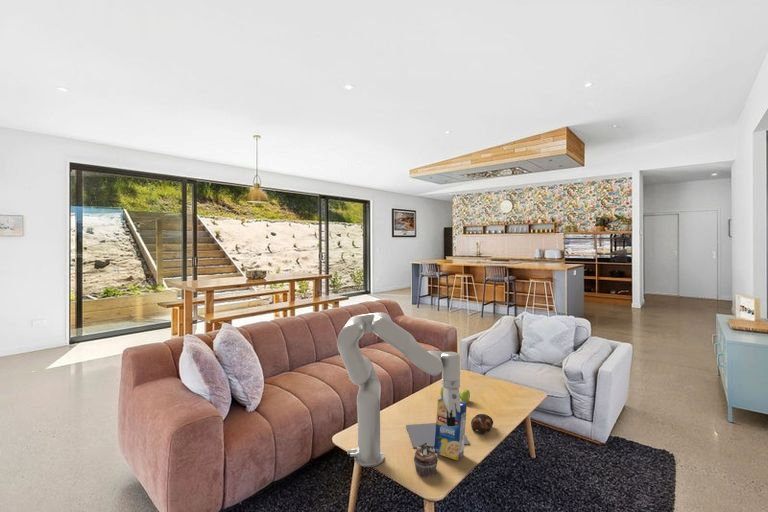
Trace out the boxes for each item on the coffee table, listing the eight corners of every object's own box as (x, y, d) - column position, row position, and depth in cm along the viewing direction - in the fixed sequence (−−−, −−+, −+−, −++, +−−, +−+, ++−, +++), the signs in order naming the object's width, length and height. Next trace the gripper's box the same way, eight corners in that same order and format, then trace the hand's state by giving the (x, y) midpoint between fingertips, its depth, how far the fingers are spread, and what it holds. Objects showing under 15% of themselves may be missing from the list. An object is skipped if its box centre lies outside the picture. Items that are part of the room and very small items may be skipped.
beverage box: (458, 460, 155) (461, 405, 158) (433, 452, 161) (437, 399, 163) (463, 455, 161) (467, 402, 163) (439, 448, 166) (443, 397, 169)
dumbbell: (471, 400, 215) (471, 388, 214) (466, 406, 208) (466, 393, 207) (444, 394, 223) (444, 382, 223) (439, 399, 216) (439, 387, 216)
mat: (413, 448, 166) (413, 447, 166) (405, 426, 186) (405, 424, 186) (470, 444, 169) (470, 443, 169) (456, 422, 189) (456, 421, 189)
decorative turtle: (465, 434, 178) (465, 417, 178) (480, 424, 190) (479, 408, 190) (484, 440, 172) (484, 422, 172) (498, 429, 183) (498, 412, 184)
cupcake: (408, 470, 151) (408, 446, 150) (424, 460, 157) (424, 437, 157) (427, 481, 144) (427, 456, 143) (442, 470, 150) (442, 446, 150)
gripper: (465, 389, 149) (465, 434, 150) (454, 375, 164) (454, 416, 165) (446, 390, 148) (446, 435, 149) (437, 376, 163) (437, 417, 164)
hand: (450, 425), depth 157 cm, fingers closed
